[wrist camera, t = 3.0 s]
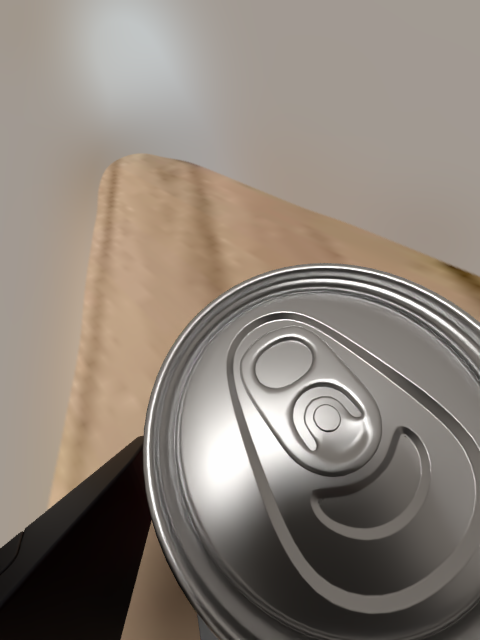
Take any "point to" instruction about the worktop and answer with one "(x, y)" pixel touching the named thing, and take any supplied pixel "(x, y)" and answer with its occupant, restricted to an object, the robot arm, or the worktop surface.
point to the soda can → (321, 459)
